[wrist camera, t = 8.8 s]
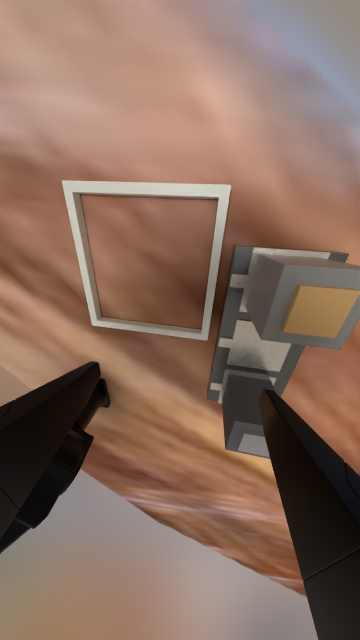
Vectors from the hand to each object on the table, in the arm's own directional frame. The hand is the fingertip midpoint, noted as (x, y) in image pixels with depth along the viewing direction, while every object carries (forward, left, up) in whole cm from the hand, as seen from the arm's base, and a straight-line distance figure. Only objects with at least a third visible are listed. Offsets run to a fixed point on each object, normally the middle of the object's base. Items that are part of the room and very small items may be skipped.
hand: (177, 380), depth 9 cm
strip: (-4, -8, -11) cm, 14 cm away
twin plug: (-11, -8, -10) cm, 16 cm away
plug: (+3, -8, -10) cm, 13 cm away
